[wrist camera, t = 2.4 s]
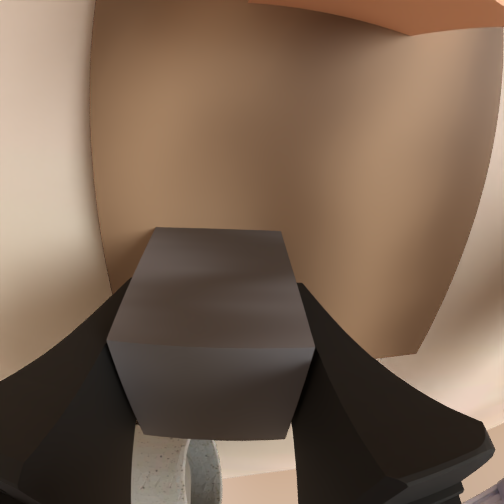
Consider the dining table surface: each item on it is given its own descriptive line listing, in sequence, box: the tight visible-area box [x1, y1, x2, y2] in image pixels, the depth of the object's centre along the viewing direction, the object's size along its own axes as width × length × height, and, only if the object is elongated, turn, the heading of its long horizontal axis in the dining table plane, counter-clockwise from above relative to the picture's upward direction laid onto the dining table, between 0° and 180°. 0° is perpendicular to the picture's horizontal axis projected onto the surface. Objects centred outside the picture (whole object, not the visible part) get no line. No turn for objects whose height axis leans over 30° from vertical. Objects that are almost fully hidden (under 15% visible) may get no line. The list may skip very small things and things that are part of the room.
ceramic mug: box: [131, 425, 222, 504], centre depth 16 cm, size 11×8×8 cm
